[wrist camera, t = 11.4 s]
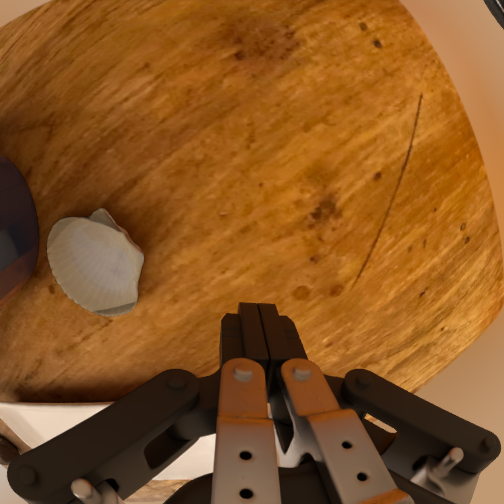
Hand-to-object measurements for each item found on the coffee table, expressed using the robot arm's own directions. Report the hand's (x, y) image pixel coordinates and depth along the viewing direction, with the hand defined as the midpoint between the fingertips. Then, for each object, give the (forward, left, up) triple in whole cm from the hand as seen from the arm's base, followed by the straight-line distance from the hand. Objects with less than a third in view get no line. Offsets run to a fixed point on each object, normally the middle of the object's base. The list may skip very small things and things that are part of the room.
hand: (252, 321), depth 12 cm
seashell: (+1, -10, -9) cm, 13 cm away
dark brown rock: (+43, -43, -9) cm, 62 cm away
